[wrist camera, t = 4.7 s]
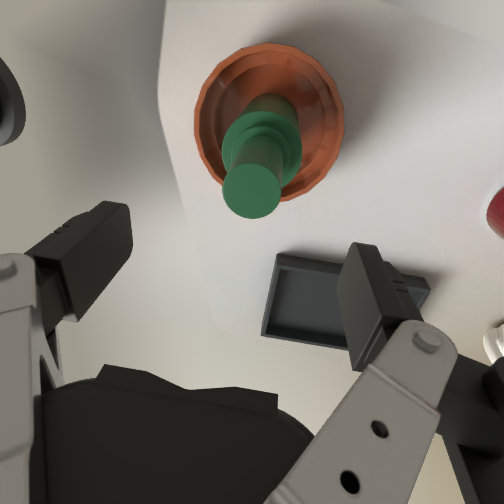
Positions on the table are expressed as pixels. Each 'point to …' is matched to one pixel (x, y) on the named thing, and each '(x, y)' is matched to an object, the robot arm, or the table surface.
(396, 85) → the table surface
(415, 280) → the tray
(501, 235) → the soda can
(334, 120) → the bowl
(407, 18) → the table surface
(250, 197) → the bottle
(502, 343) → the cat figurine
